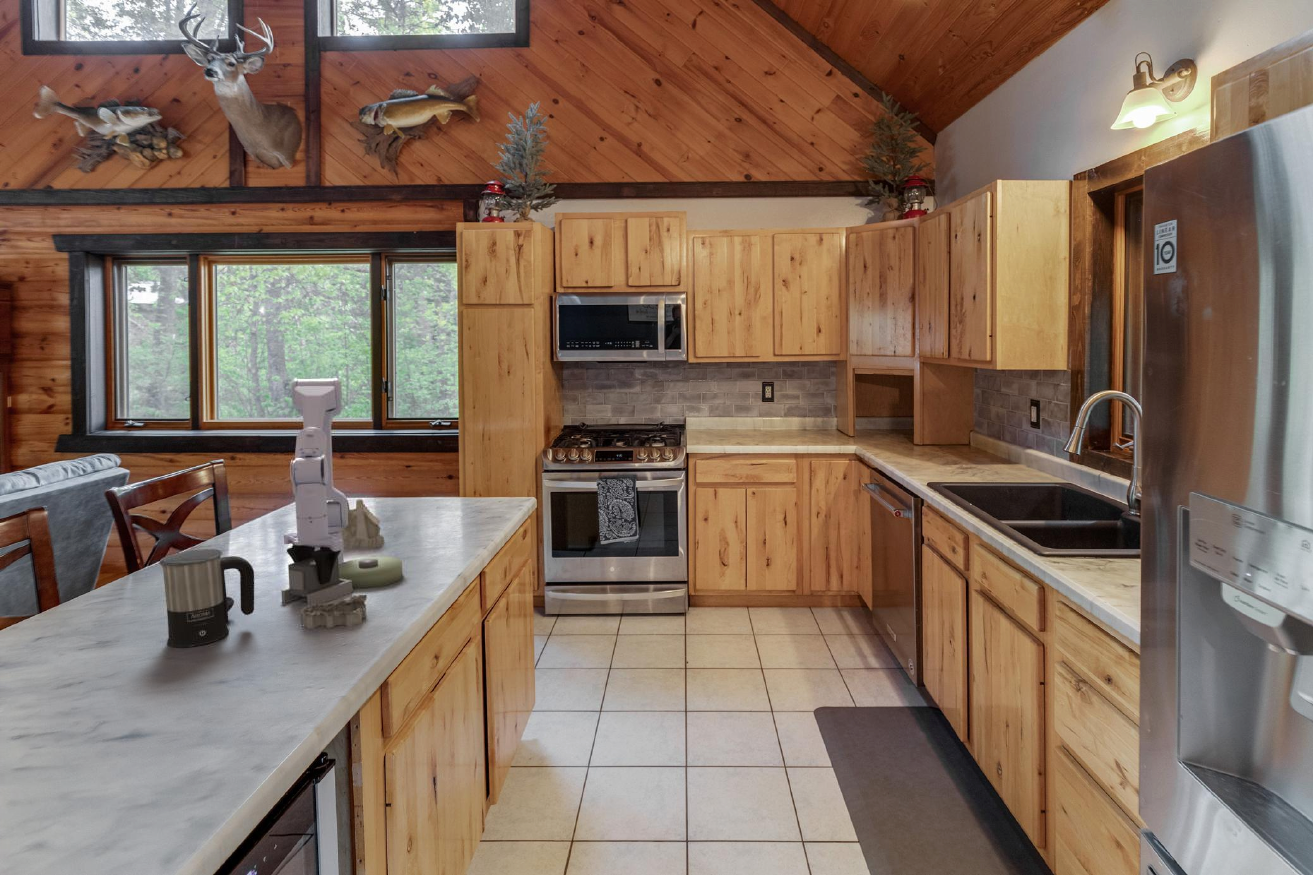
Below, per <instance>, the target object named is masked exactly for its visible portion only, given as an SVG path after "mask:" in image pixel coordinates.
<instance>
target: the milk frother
mask: <svg viewBox="0 0 1313 875" xmlns="http://www.w3.org/2000/svg"><path fill="white" fill-rule="evenodd" d="M222 555H223V551H222V550H219V549H207V548H206V549H203V548H202V549H195V550H194V549H192V550H187V551H182V552H177V553H173V554H170V555H167V556H164V557H162V558H161V559H160V561H158V564H159V565H160V566H161V567H162V572H163V582H164V592H165V593H164V594H165V604H166V613H167V629H168V631H167V632H168V638H167V640H166V641H167V642H166V643H167V645H168V646H171V647H176V648H189V647H197V646H202V645H207V644H210V643H213V642H215V641H218V640H221V639H223V638H224V637H226V636H227V635H228V634H229V632H230V629H229V628H228V624H229V621H230V620H229V611H230V610H231V609H232V608H233V606H234V604H235V600H234V599H233V598H232V597H229V596H227V588H226V587H227V586H226V576H225V571H226V570H233V569H235V570H237V571H238V572H239V580H240V581H239V582H240V583H239V584H240V586H239V588H240V611H241V613H242V614H244V615H246V616H249V615H251V614H253V613H254V611H255V571H254V570H255V569H254V567H253V566H252V564H251V563H250V562H249V561H248V560H246V558H243V557H241V556H236V555H235V556H233V555H231V556H222ZM221 556H222V557H221Z"/></svg>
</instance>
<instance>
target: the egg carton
mask: <svg viewBox="0 0 1313 875" xmlns="http://www.w3.org/2000/svg"><path fill="white" fill-rule="evenodd" d="M367 598H368V597H367V594H358V595H356V594H355V595H353V596H350V598H349V599H341V600H340V601H328V602H325V603H322V604H320V605H317V603H316V604H310V605H309V604H308V603H307V606H305V607H303V608H302V609H301V610H300V613H302V615H301V618H302V619H301V620H302V626H303V625H304V626H303V627H306V626H307V627H306V628H307V629H313V627H314V628H316V627H319V626H318V625H321V626H325V625H326V628H333V627H335V626H339V625H340V626H341V625H345V626H346V627H353V626H355V625H358V624H361V623H362V620H363V618H365V617H366V616H367V604H366V603H365V602H366V601H367Z"/></svg>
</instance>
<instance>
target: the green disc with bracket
mask: <svg viewBox="0 0 1313 875" xmlns="http://www.w3.org/2000/svg"><path fill="white" fill-rule="evenodd" d="M402 578H403V561H402V560H401V559H399V558H397V557H396V558H395V557H390V556H372V557H371V556H370V557H361V558H355V559H350V560H347V561H344V562H343V563H341V564H339V584H337V585H334V586H331V587H328V588H325V589H322V590H320V591H317V592H314V593H311V594H308V595H307V597H306V599H307V605H308V604H309V605H310V604H316V603H317V605H320V604H324V603H329V602H331V601H333V600H335V599H338V598H340V597H343V596H346V595H348V594H352V593H353V590H356V589H357V590H358V589H371V588H378V587H384V586H387V585H389V584H394V583H395V582H397V581H399V580H401V579H402ZM280 594H281V602H282V603H283V604H284V603H285V604H286V603H288V602H291V601H294V600H297V599H300V598H303V597H304V596H298V595H293V594H290V588H289V587H287V588H284V589H281V593H280Z"/></svg>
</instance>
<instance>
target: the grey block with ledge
mask: <svg viewBox="0 0 1313 875" xmlns="http://www.w3.org/2000/svg"><path fill="white" fill-rule="evenodd" d="M287 569H288V586H289V587H288V588H290V594H293V595H298V596H303V597H304V598H305V597H306V598H307V595H308V594H311V593H314V592H317V591H320V590H322V589H325V588H328V587H331V586H334V585H337V584H339V563H338V557H337V559H336V561H335V564H334V567H333V571H332V575H331V580H330V582H329V583H326V584H323V585H321V584H320V583H319V579H318V573H317V567H316V563H315V561H314V558H313V557H312V558H309V559H305V560H302V561H299V562H295V563H294V562H292V563H290V564H287Z"/></svg>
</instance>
